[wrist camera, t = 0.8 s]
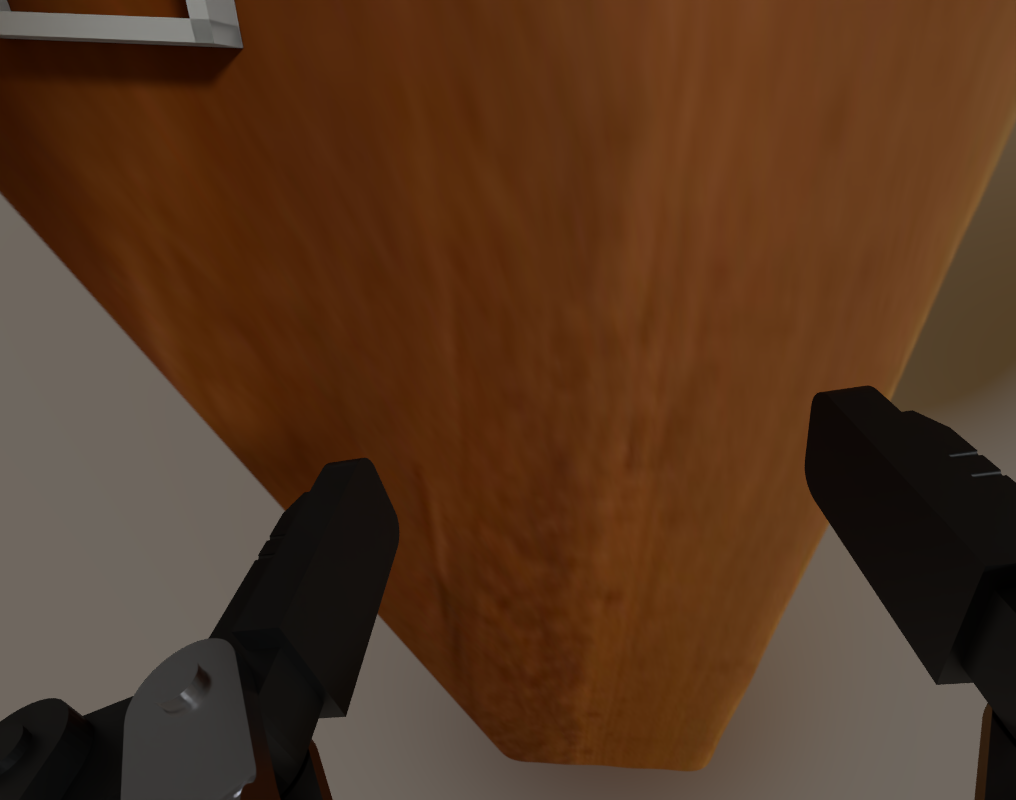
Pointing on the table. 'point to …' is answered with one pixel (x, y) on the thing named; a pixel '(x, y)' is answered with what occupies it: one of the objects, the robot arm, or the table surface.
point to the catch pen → (130, 26)
